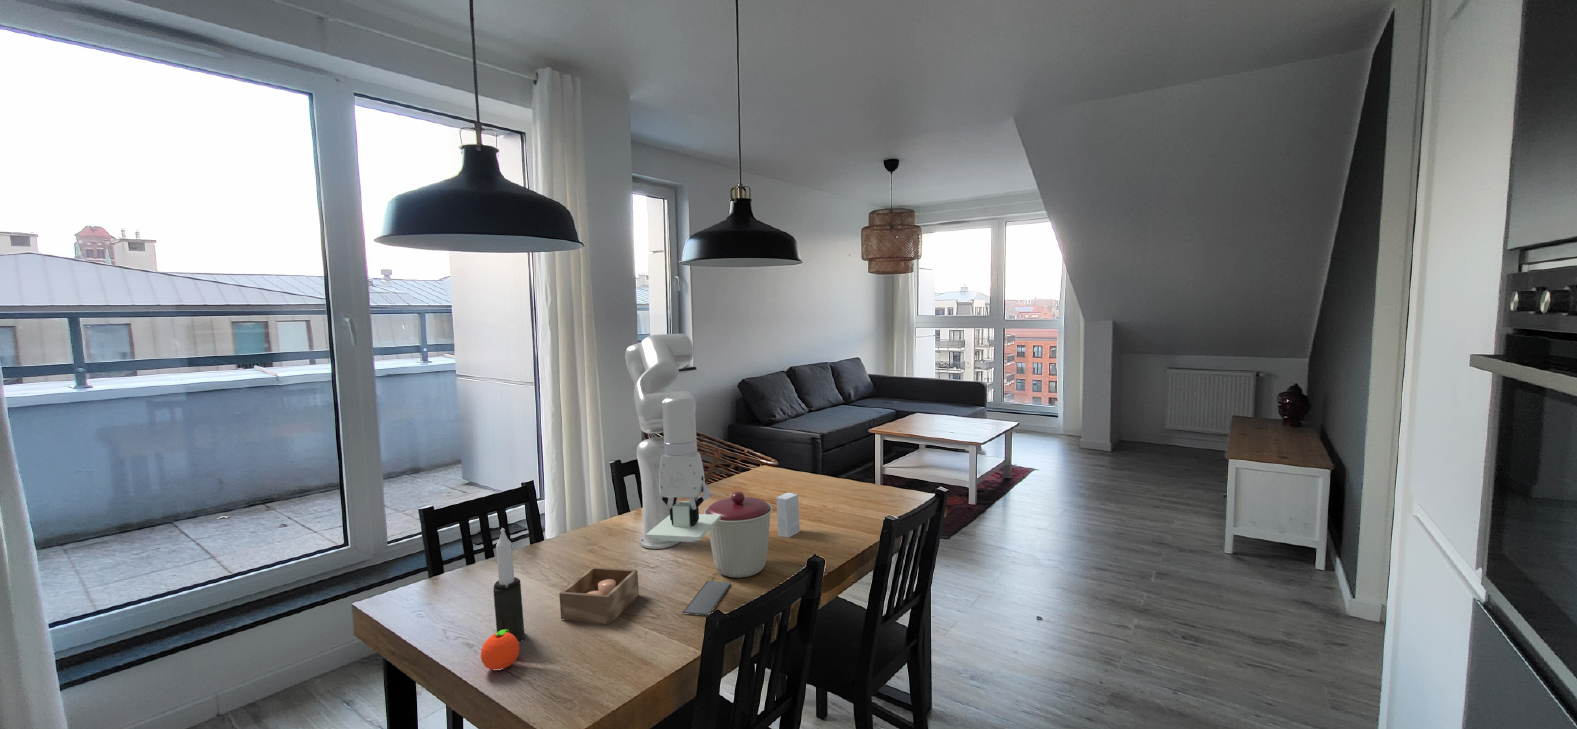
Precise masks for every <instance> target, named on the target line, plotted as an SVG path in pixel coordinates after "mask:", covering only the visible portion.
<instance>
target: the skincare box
mask: <svg viewBox="0 0 1577 729" xmlns="http://www.w3.org/2000/svg"><path fill="white" fill-rule="evenodd" d="M799 512H800V504H799V493H793V492H789V491H788V492H785V493H783V494H781V495H779V496H776V517H777V518H776V519H777V521H776V522H777V535H778V536H779V537H784V538H788V539H789V538H791V537H793V536H794V535H797V534H798V533H800V532H801V529H800V528H801V527H800V513H799Z"/></svg>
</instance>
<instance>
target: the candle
mask: <svg viewBox="0 0 1577 729" xmlns="http://www.w3.org/2000/svg"><path fill="white" fill-rule="evenodd" d="M499 531H500V535H499V539H498V541H497V543H496V545H495V549H496V562H497V573H498V576H497V577H498V580H497V581H496V582H495V583H494V584H493V591H492V592H493V602H494V604H493V605H494V614H495V625H496V626H495V627H496V633H498V632H499V631H500V630H505V629H508V630H509V633H511V634H513V635H514V636H515V637H516V638H517V640H518V642H521V641H522V640H523V639H524V640H525V622H524V611H523V599H522V583H521V579H519V577H515V572H514V560H513V559H514V558H513V547H512V546H513V545H512V541H510V540H509V538H508V536H507V534H506V532H505V531H506V529H505V528H503V527H501V529H500V530H499ZM506 632H508V631H506ZM521 643H522V642H521Z"/></svg>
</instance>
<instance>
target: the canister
mask: <svg viewBox="0 0 1577 729" xmlns="http://www.w3.org/2000/svg"><path fill="white" fill-rule="evenodd" d="M773 510H774V508H773V505H771V503H769V502H767V501H765V500H763V499H761V498H758V497H752V496H745V494H744V492H741V491H735V492H733V493H732V494H731V496H730V497H727V498H723V499H719V500H717V501H714V502H713V503H711V504H710V505H708V506H707V507H706V508H705V509H704V511H703V514H712V515H721V519H720V520H719V521H718V522H717V523H716V524H715V525H714V526H713V527H712V528H711V529H710V530H709V531H708V534H709V541H710V546H711V552H712V558H713V563H714V566H715V568H716V570H717V571H718V572H719V574H721V575H723V576H725V577H729V578H734V579H737V578H741V579H742V578H747V577H748V578H749V577H751V576H755V575H757V574H758V573H760V572H761V571H763V569H764V568H765V565H766V563H767V559H768V550H769V549H768V548H769V539H770V538H769V536H770V523H771V521H770V520H771V514H772V512H773Z"/></svg>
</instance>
